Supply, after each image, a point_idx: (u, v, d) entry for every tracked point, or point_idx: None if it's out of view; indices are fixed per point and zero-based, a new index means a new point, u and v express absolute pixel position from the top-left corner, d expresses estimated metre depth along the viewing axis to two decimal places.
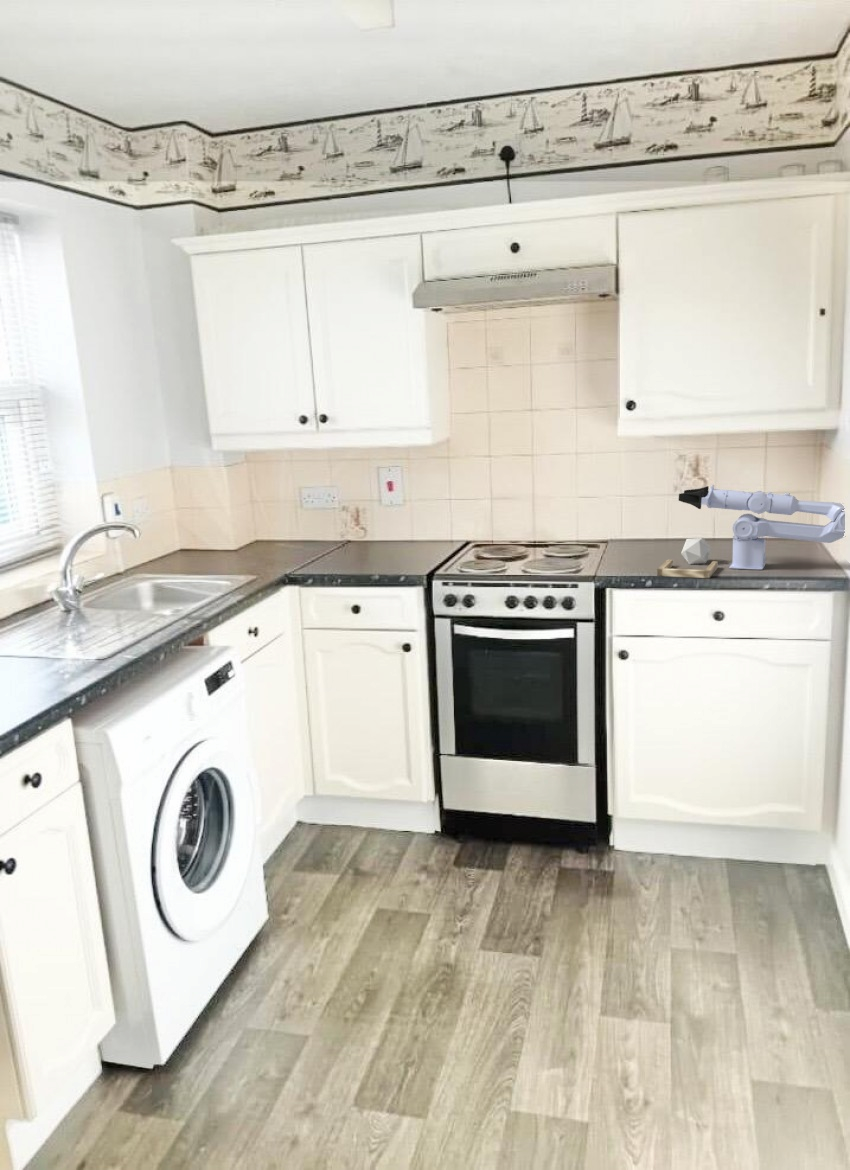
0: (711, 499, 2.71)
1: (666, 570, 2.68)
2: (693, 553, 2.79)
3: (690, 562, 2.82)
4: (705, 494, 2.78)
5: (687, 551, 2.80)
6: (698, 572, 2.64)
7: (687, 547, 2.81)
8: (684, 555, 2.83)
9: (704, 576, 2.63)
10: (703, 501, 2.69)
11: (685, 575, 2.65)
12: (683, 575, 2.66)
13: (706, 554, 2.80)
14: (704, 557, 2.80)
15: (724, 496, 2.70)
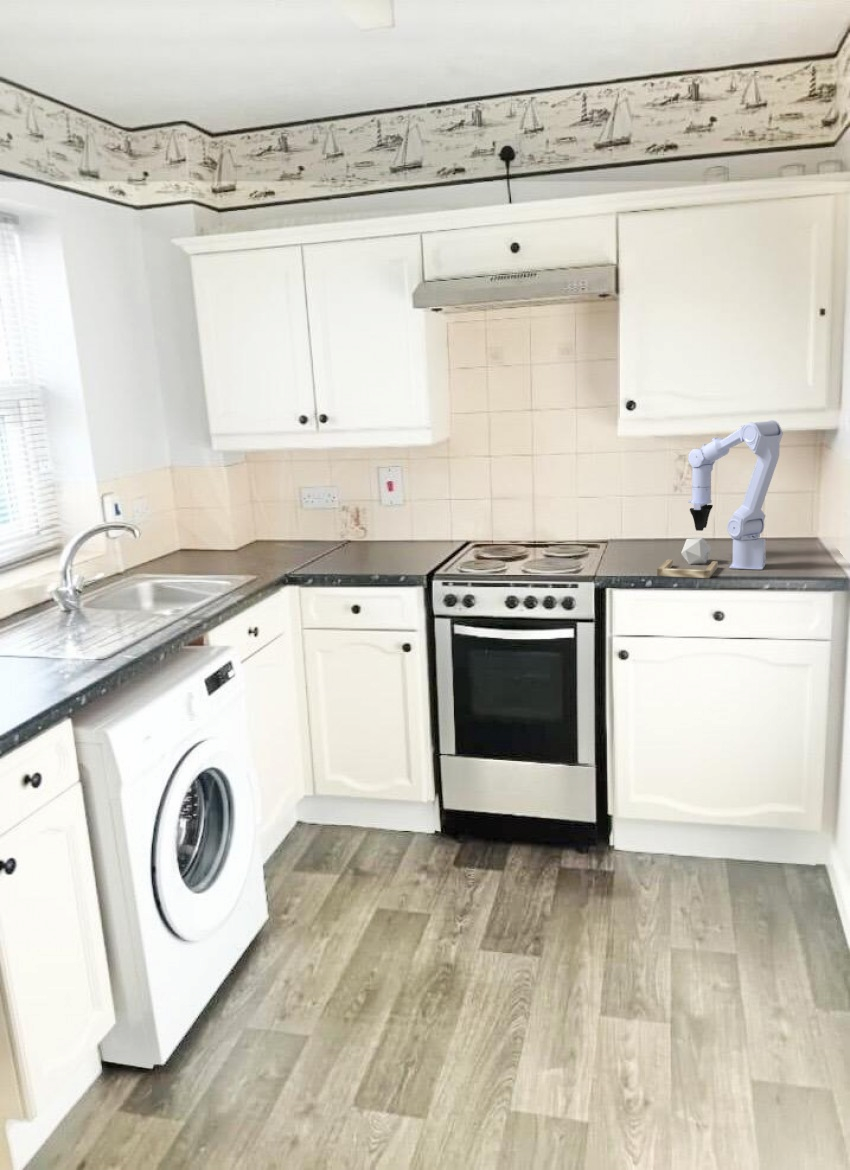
0: (699, 500, 2.84)
1: (666, 570, 2.68)
2: (693, 553, 2.79)
3: (690, 562, 2.82)
4: None
5: (687, 551, 2.80)
6: (698, 572, 2.64)
7: (687, 547, 2.81)
8: (684, 555, 2.83)
9: (704, 576, 2.63)
10: (697, 508, 2.80)
11: (685, 575, 2.65)
12: (683, 575, 2.66)
13: (706, 554, 2.80)
14: (704, 557, 2.80)
15: (696, 489, 2.84)
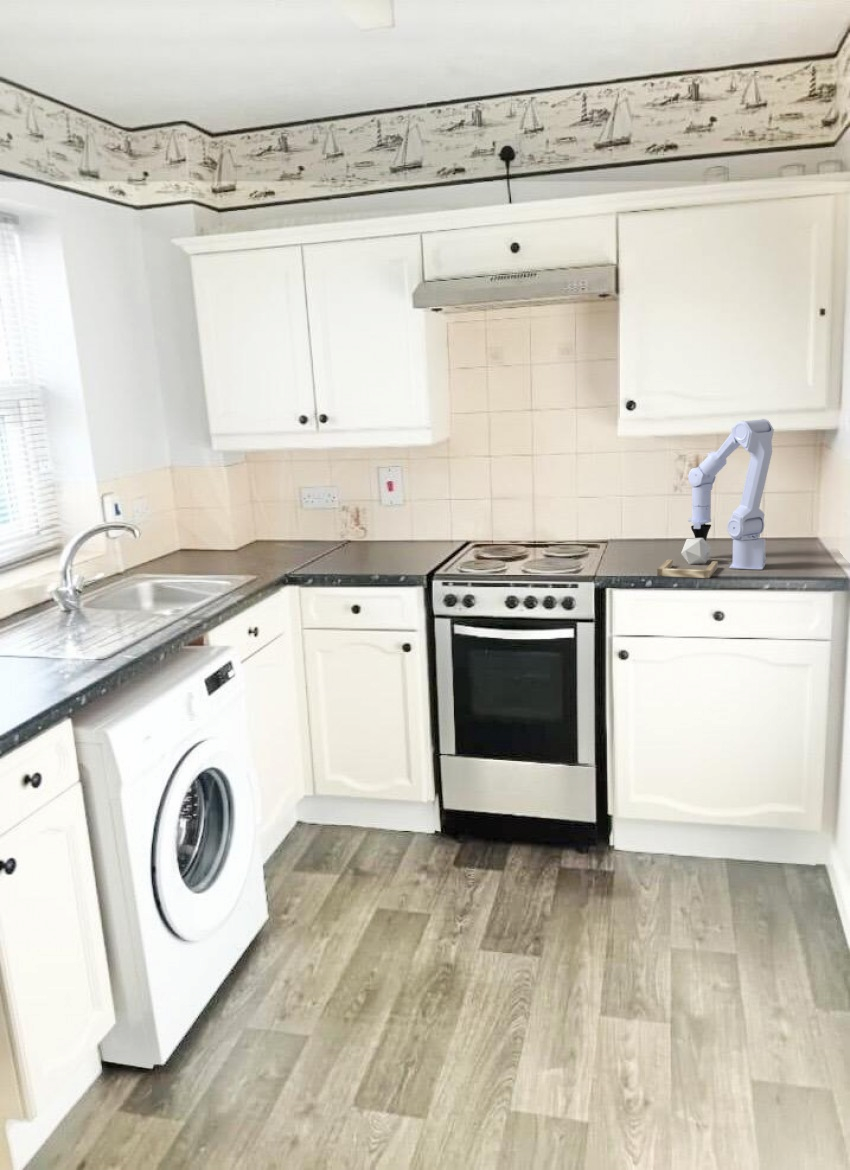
0: (699, 519, 2.85)
1: (666, 570, 2.68)
2: (693, 553, 2.79)
3: (690, 562, 2.82)
4: None
5: (687, 551, 2.80)
6: (698, 572, 2.64)
7: (687, 547, 2.81)
8: (684, 555, 2.83)
9: (704, 576, 2.63)
10: (697, 527, 2.82)
11: (685, 575, 2.65)
12: (683, 575, 2.66)
13: (706, 554, 2.80)
14: (704, 557, 2.80)
15: (695, 508, 2.85)
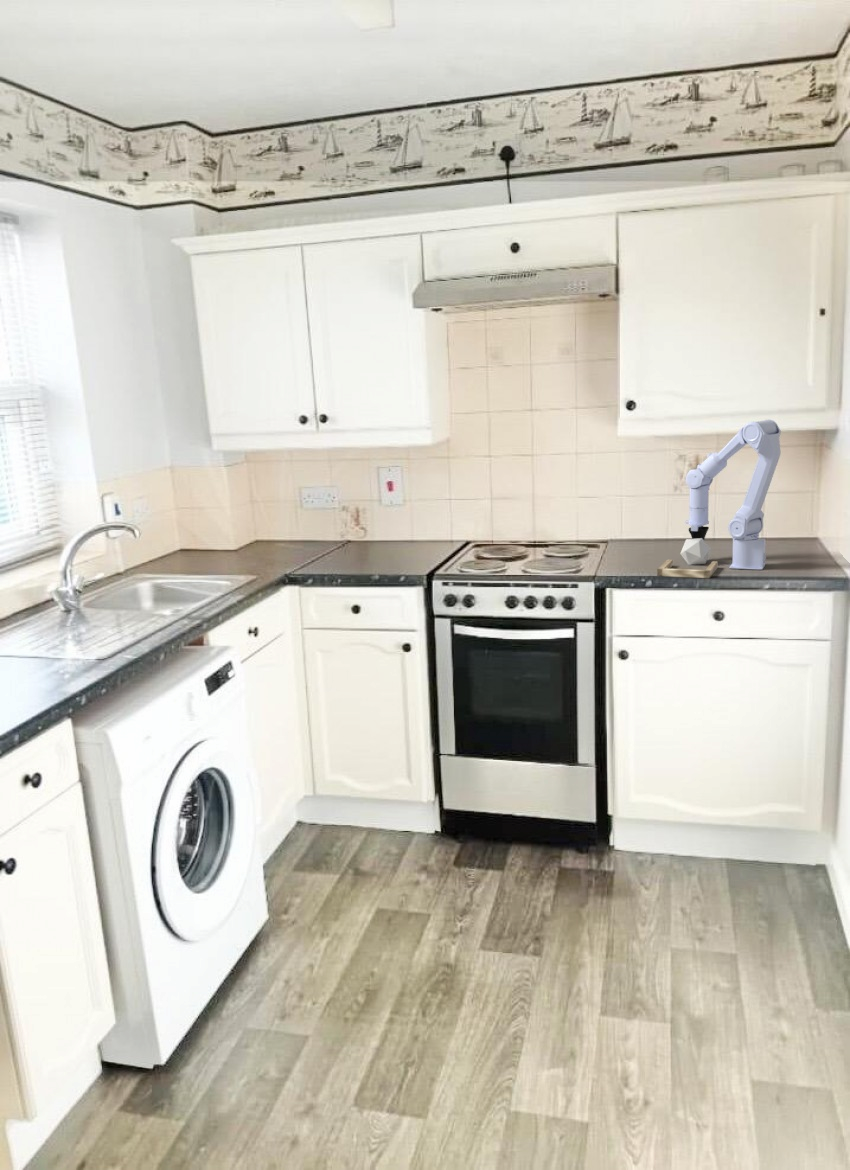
0: (696, 521, 2.82)
1: (666, 570, 2.68)
2: (693, 553, 2.78)
3: (690, 563, 2.81)
4: None
5: (687, 552, 2.79)
6: (698, 572, 2.64)
7: (687, 548, 2.80)
8: (683, 556, 2.82)
9: (704, 576, 2.63)
10: (694, 529, 2.78)
11: (685, 575, 2.65)
12: (683, 575, 2.66)
13: (706, 554, 2.79)
14: (704, 557, 2.79)
15: (693, 510, 2.82)
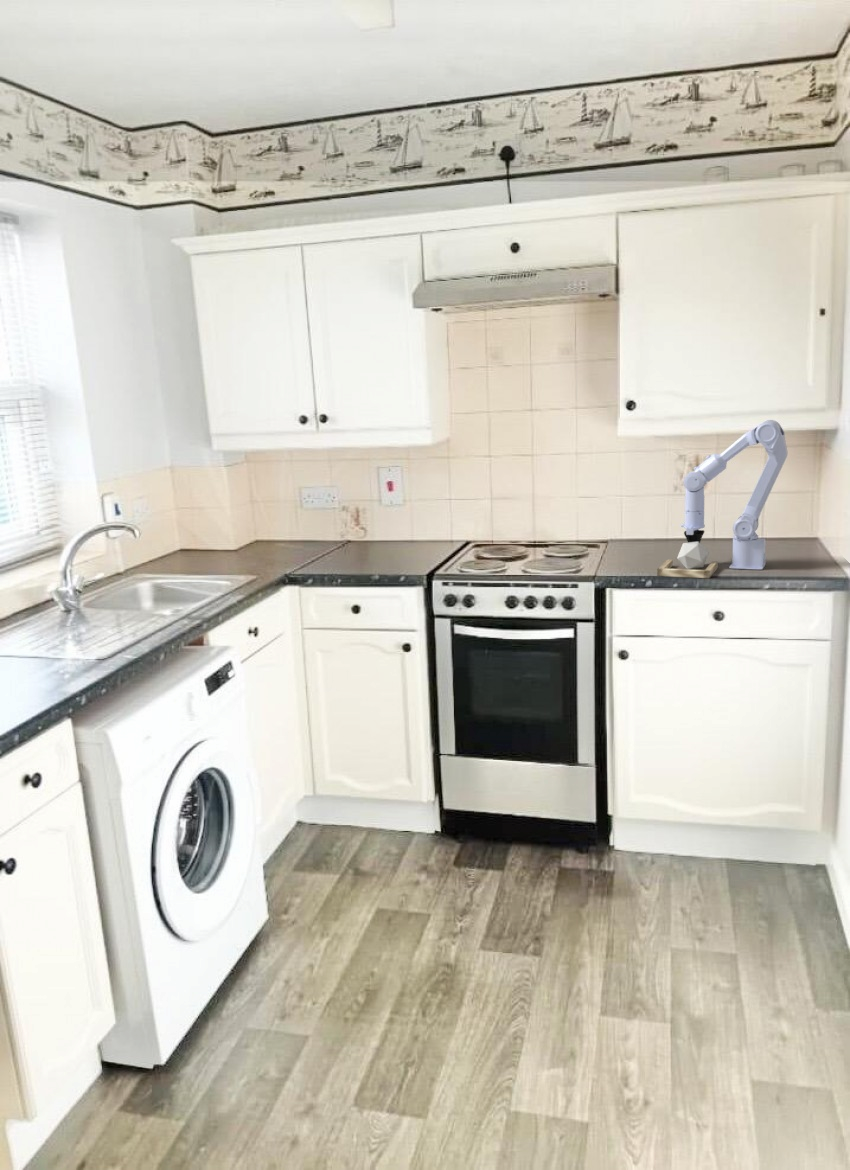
0: (692, 525, 2.76)
1: (666, 570, 2.68)
2: (693, 557, 2.73)
3: (689, 567, 2.75)
4: None
5: (686, 556, 2.73)
6: (698, 572, 2.64)
7: (686, 552, 2.73)
8: (682, 560, 2.76)
9: (704, 576, 2.63)
10: (690, 533, 2.72)
11: (685, 575, 2.65)
12: (683, 575, 2.66)
13: (704, 558, 2.74)
14: (703, 561, 2.74)
15: (688, 513, 2.76)
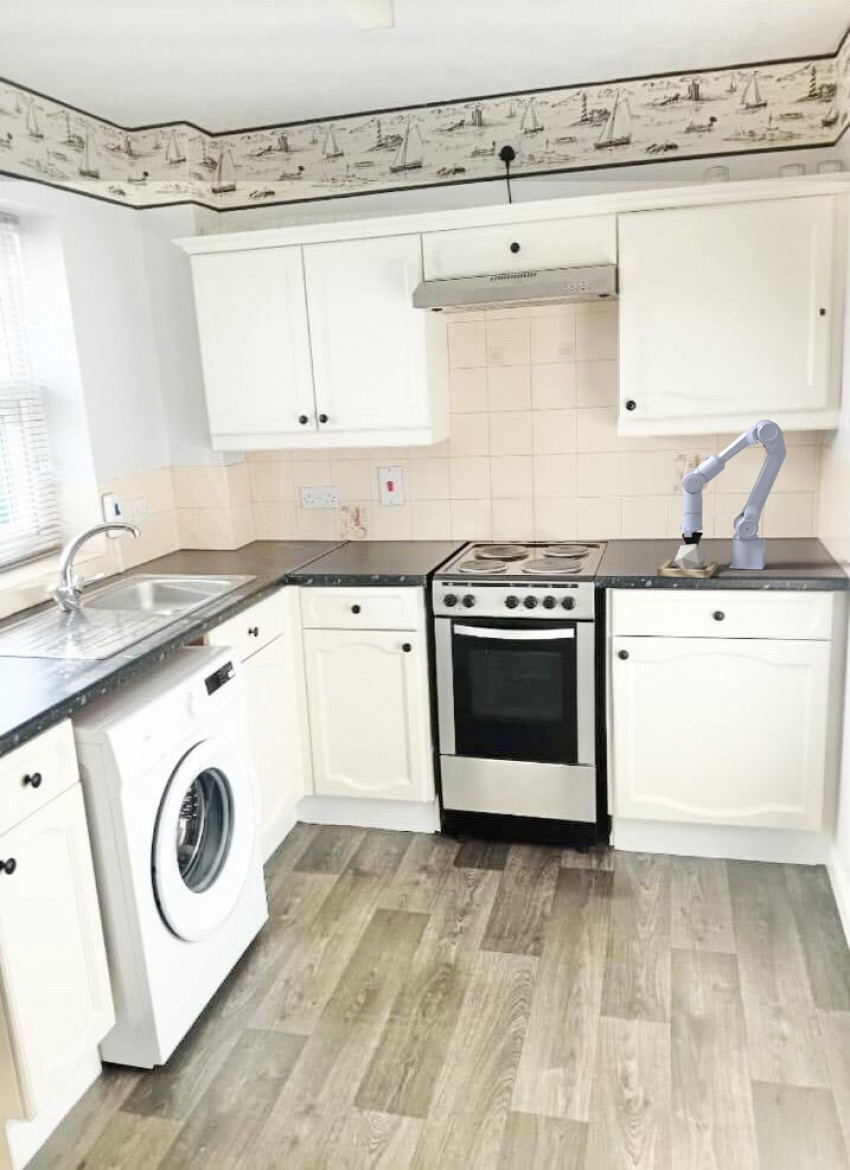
0: (690, 527, 2.73)
1: (666, 570, 2.68)
2: (691, 560, 2.69)
3: None
4: None
5: (684, 558, 2.70)
6: (698, 572, 2.64)
7: (683, 554, 2.70)
8: (679, 562, 2.73)
9: (704, 576, 2.63)
10: (688, 535, 2.69)
11: (685, 575, 2.65)
12: (683, 575, 2.66)
13: (702, 560, 2.71)
14: (700, 564, 2.71)
15: (686, 515, 2.73)
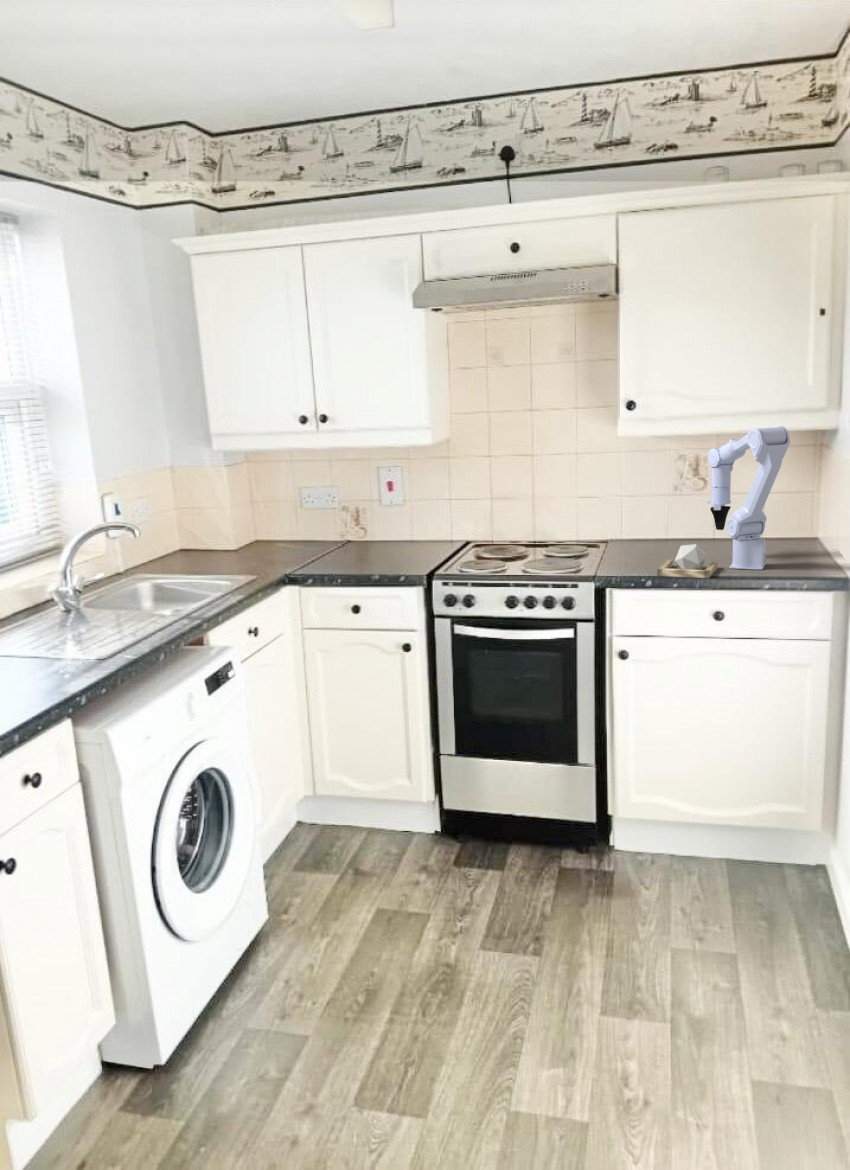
0: (719, 501, 2.81)
1: (666, 570, 2.68)
2: (691, 560, 2.69)
3: None
4: None
5: (684, 558, 2.70)
6: (698, 572, 2.64)
7: (683, 554, 2.70)
8: (679, 563, 2.73)
9: (704, 576, 2.63)
10: (717, 508, 2.77)
11: (685, 575, 2.65)
12: (683, 575, 2.66)
13: (702, 561, 2.71)
14: (701, 564, 2.71)
15: (715, 489, 2.81)
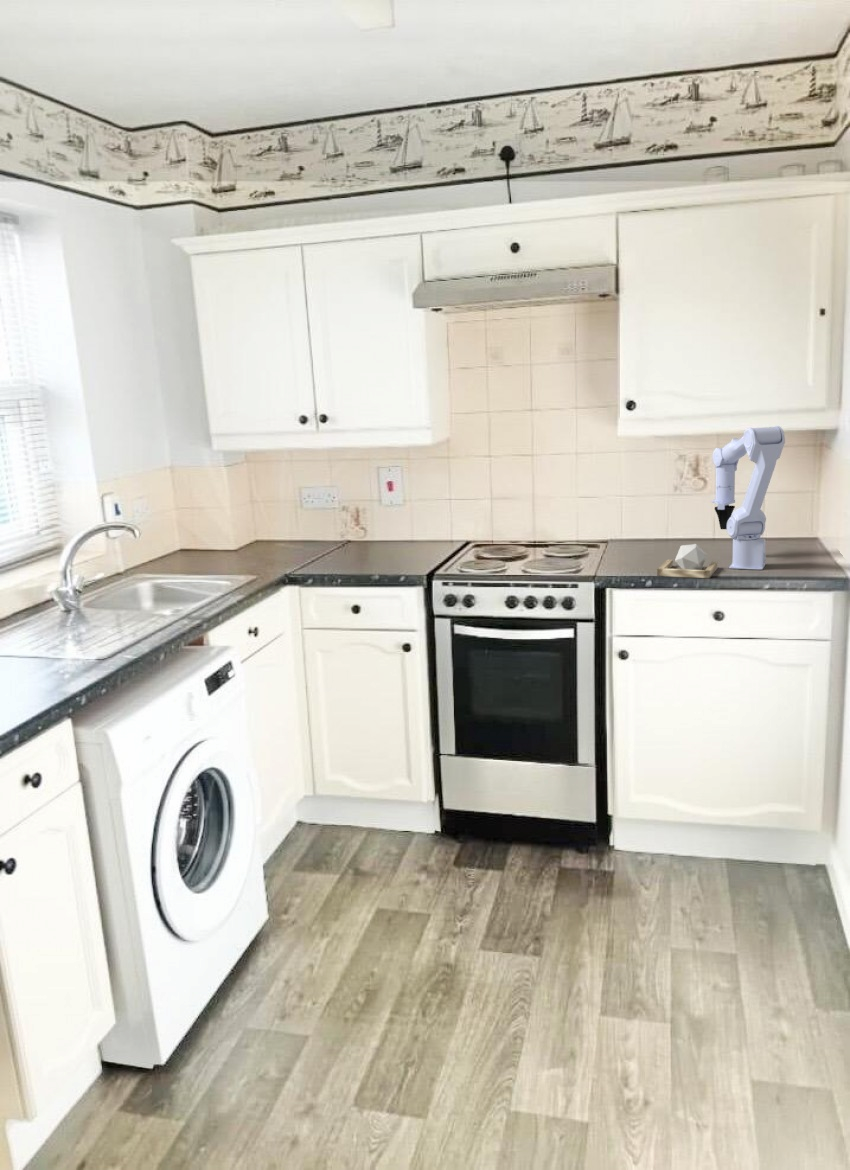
0: (723, 500, 2.82)
1: (666, 570, 2.68)
2: (691, 560, 2.69)
3: None
4: None
5: (684, 558, 2.70)
6: (698, 572, 2.64)
7: (683, 554, 2.70)
8: (679, 563, 2.73)
9: (704, 576, 2.63)
10: (721, 507, 2.78)
11: (685, 575, 2.65)
12: (683, 575, 2.66)
13: (702, 561, 2.71)
14: (701, 564, 2.71)
15: (719, 488, 2.82)
